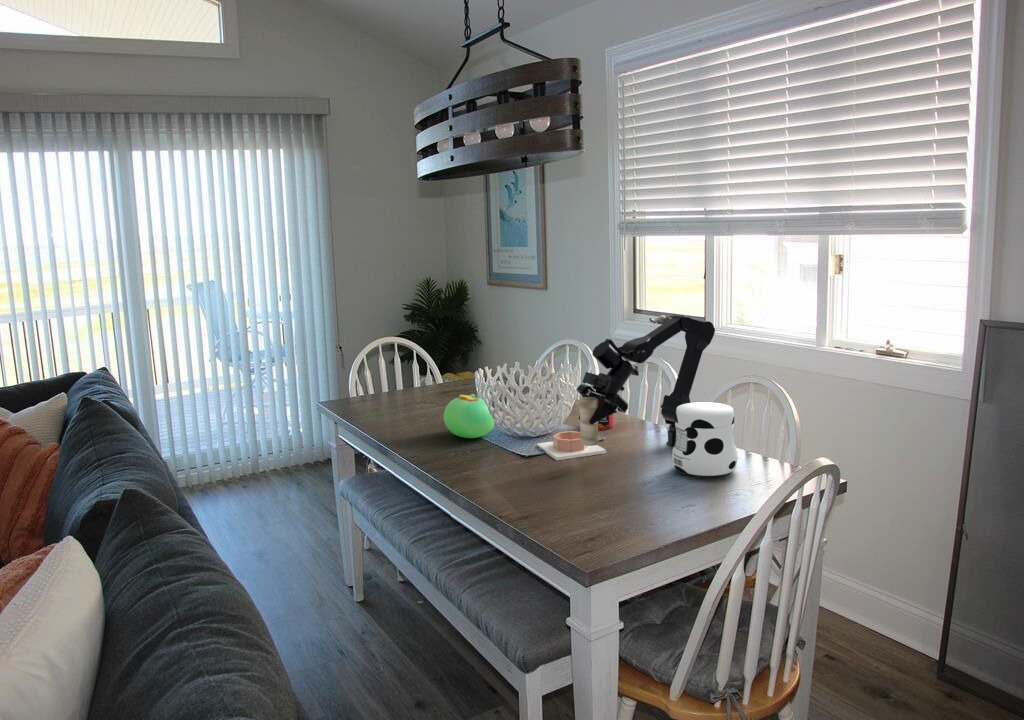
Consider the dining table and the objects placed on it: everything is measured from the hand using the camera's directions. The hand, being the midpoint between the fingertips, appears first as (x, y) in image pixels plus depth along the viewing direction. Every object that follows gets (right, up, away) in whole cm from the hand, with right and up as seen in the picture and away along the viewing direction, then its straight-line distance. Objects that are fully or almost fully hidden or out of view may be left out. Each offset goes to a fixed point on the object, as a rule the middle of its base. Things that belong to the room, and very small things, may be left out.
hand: (585, 421), depth 219 cm
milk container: (+32, -14, -8) cm, 36 cm away
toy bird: (-34, -8, +38) cm, 51 cm away
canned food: (+10, -6, +42) cm, 44 cm away
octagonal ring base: (-3, -10, +18) cm, 21 cm away
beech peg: (+1, -6, +2) cm, 7 cm away
